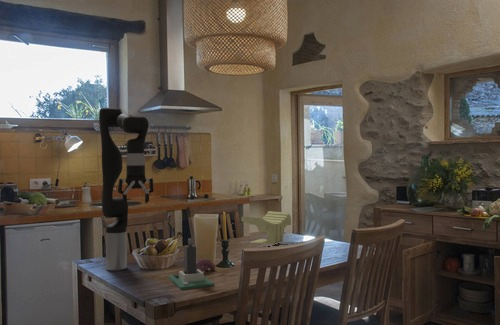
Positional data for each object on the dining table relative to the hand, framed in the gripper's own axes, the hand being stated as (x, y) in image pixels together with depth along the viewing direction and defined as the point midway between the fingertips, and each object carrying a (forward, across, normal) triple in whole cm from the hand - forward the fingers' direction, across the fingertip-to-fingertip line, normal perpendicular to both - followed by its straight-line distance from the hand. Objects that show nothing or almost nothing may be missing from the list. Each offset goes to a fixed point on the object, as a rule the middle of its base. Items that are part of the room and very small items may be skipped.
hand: (135, 203), depth 199 cm
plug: (+32, -21, +8) cm, 39 cm away
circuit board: (+33, -21, +8) cm, 40 cm away
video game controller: (+33, -32, -6) cm, 46 cm away
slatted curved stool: (+33, -86, -52) cm, 106 cm away
